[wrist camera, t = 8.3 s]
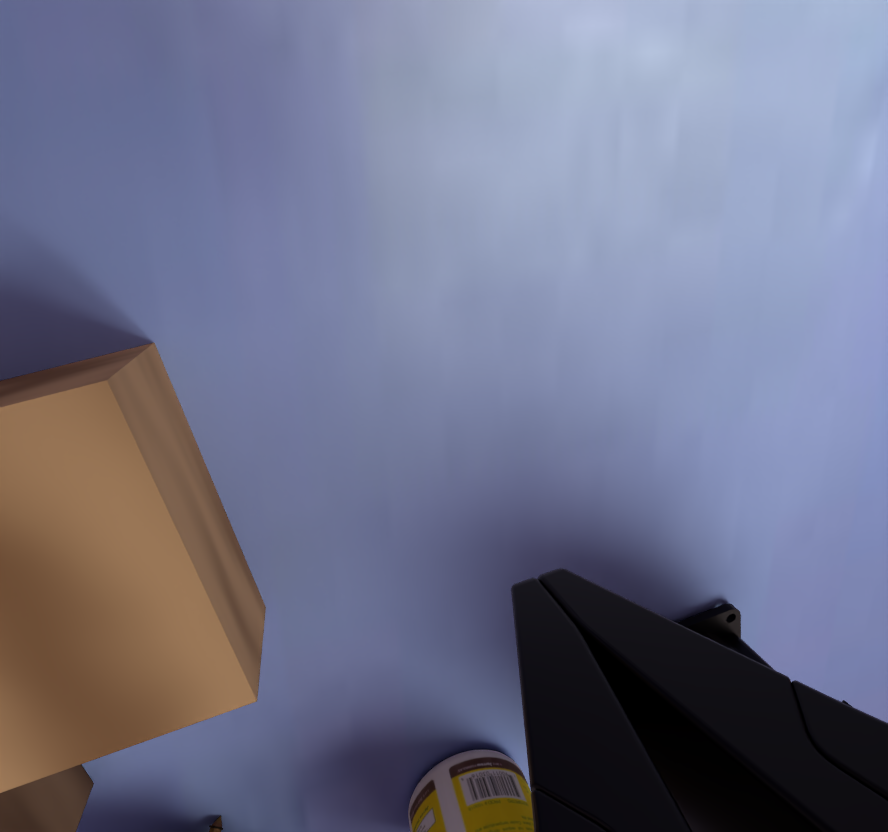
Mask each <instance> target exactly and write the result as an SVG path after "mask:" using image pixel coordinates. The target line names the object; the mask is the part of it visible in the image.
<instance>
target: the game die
mask: <svg viewBox="0 0 888 832" xmlns="http://www.w3.org/2000/svg"><path fill="white" fill-rule="evenodd" d="M209 827H210V830H209V832H221V830H223V828H222V821H221V816H220V817H219V818H218V819H217V820H216V821H215V822H214V823H213V824H212V825H210V826H209Z"/></svg>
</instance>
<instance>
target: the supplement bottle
mask: <svg viewBox="0 0 888 832" xmlns="http://www.w3.org/2000/svg"><path fill="white" fill-rule="evenodd" d="M408 818H409V826H410V832H534V823H533V812H532V802H531V791H530V789H529V786H528V784H527V781H526V779H525V777H524V775H523V773H522V771H521V769H520V768H519V766H518V765H517V764H516V763H515V762H514V761H513V760H512V759H511V758H510V757H508V756H506V755H504V754H502V753H500V752H497V751H492V750H471V751H466V752H462V753H459V754H456V755H454V756H451V757H449V758H447V759H445V760H444V761H442V762H440V763H439V764H437V765H436V766H435V767H433V768H432V769H431V770H430V771H429V772H428V773H427V774H426V775H425V776H424V777H423V778H422V779H421V781H420V782H419V783H418V785H417V786H416V788H415V790H414V792H413V794H412V797H411V800H410V803H409V810H408Z"/></svg>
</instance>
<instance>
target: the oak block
mask: <svg viewBox="0 0 888 832" xmlns="http://www.w3.org/2000/svg"><path fill="white" fill-rule="evenodd" d="M265 609H266V607H265V605H264V602H263V600H262V598H261V595H260V593H259V590H258V588H257V586H256V583H255V581H254V579H253V576H252V574H251V571H250V569H249V567H248V564H247V562H246V560H245V557H244V555H243V552H242V550H241V548H240V545H239V543H238V541H237V538H236V536H235V533H234V531H233V529H232V526H231V524H230V522H229V519H228V517H227V514H226V512H225V510H224V507H223V505H222V502H221V500H220V498H219V495H218V493H217V491H216V488H215V486H214V483H213V481H212V479H211V476H210V474H209V472H208V469H207V467H206V464H205V462H204V460H203V457H202V455H201V453H200V450H199V448H198V445H197V443H196V441H195V438H194V436H193V434H192V431H191V429H190V426H189V424H188V422H187V419H186V417H185V415H184V412H183V410H182V407H181V405H180V403H179V400H178V398H177V396H176V393H175V391H174V388H173V386H172V384H171V381H170V379H169V377H168V374H167V372H166V369H165V367H164V365H163V362H162V360H161V357H160V355H159V353H158V350H157V348H156V346H155V343H151V344H147V345H143V346H139V347H135V348H130V349H126V350H122V351H118V352H114V353H110V354H106V355H102V356H98V357H94V358H90V359H86V360H82V361H78V362H74V363H70V364H66V365H62V366H58V367H54V368H50V369H46V370H42V371H38V372H34V373H30V374H26V375H22V376H18V377H14V378H10V379H6V380H2V381H0V793H2V792H4V791H7V790H10V789H13V788H16V787H18V786H21V785H24V784H27V783H30V782H32V781H35V780H38V779H41V778H44V777H46V776H49V775H52V774H55V773H58V772H60V771H63V770H66V769H69V768H72V767H74V766H77V765H80V764H83V763H86V762H88V761H91V760H94V759H97V758H100V757H102V756H105V755H108V754H111V753H114V752H116V751H119V750H122V749H125V748H128V747H130V746H133V745H136V744H139V743H142V742H144V741H147V740H150V739H153V738H156V737H158V736H161V735H164V734H167V733H170V732H172V731H175V730H178V729H181V728H184V727H186V726H189V725H192V724H195V723H198V722H200V721H203V720H206V719H209V718H211V717H214V716H217V715H220V714H223V713H225V712H228V711H231V710H234V709H237V708H239V707H242V706H245V705H248V704H251V703H253V702H256V701H257V696H258V686H259V675H260V664H261V653H262V642H263V631H264V620H265Z"/></svg>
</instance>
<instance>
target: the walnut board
mask: <svg viewBox="0 0 888 832" xmlns="http://www.w3.org/2000/svg"><path fill="white" fill-rule="evenodd" d="M93 784H94V783H93V782H92V780H91V779H90V777H89V776H88V774H87V773H86V771H85V770H84V768H83V767H82V765H81V764H80V765H77V766H74V767H72V768H69V769H66V770H63V771H60V772H58V773H55V774H52V775H49V776H46V777H44V778H41V779H38V780H35V781H32V782H30V783H27V784H24V785H21V786H18V787H16V788H13V789H10V790H7V791H4V792H2V793H0V832H76V830H77V827H78V824H79V822H80V819H81V816H82V814H83V811H84V808H85V806H86V803H87V800H88V797H89V795H90V792H91V789H92V787H93Z"/></svg>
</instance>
